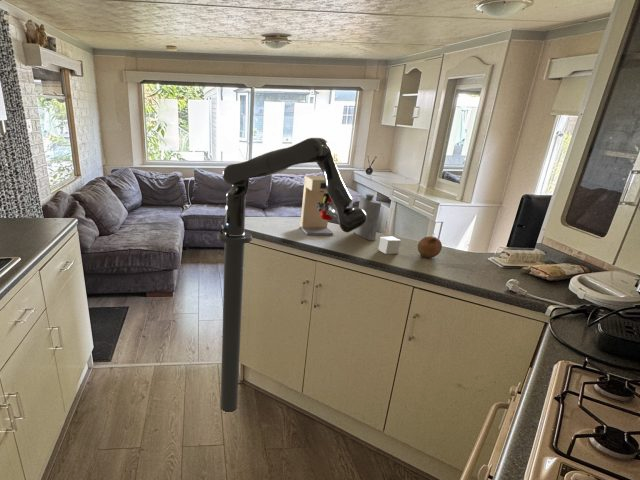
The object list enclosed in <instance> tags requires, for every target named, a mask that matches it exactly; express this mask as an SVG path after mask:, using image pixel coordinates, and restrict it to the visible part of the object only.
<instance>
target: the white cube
mask: <svg viewBox="0 0 640 480" xmlns="http://www.w3.org/2000/svg"><path fill="white" fill-rule="evenodd" d="M400 244H401V239H400V238H397V237H395V236H391V235H390V236H388V235H387V236H380V238H379V244H378V249H377V251H379V252H380V253H383V254H385V255H395V254H399V250H400Z"/></svg>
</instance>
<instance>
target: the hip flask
mask: <svg viewBox="0 0 640 480" xmlns="http://www.w3.org/2000/svg"><path fill="white" fill-rule="evenodd" d="M374 196H375V195H374V194H370V193H366V194H365V196H360V197H359V202H358V208H361V209H362V210H363V211H364V212H365V213H366V215H367V221H366V223H365V224H364V225H362V226H360V227H358V228H356V229H354V233H355V234H356V235H358V236H359V237H362V238H363V239H365V240H368V241H373V242H374V241H376V237H377V232H378V226H379V225H378V224H379V219H380V214H381V207H382V202H380V201H376V200H374Z"/></svg>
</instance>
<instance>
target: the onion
mask: <svg viewBox="0 0 640 480" xmlns="http://www.w3.org/2000/svg"><path fill="white" fill-rule="evenodd" d="M442 248H443V243H442V241H441V240H440V239H439V238H438V237H436V236H434V235H433V236H432V235H427V236H424V237H423V238H421V239H420V240H419V242H418V243H417V252H418V253H419V255H420V257H424V258H427V259H433V258H435V257H437V256H438V255H439V254H440V253H441V252H442Z"/></svg>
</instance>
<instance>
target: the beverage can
mask: <svg viewBox="0 0 640 480" xmlns="http://www.w3.org/2000/svg"><path fill="white" fill-rule="evenodd" d="M322 202H323V203H331V202H332V200H331V198H330V196H329V194H328V192H324V195H323V198H322ZM323 207H324V205H323ZM321 218H322V219H324V220H328V221H332V220H334V219H333V218H332V217H330V216H329V214H328V212H327V211H324V210H323V209H322V210H321Z"/></svg>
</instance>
